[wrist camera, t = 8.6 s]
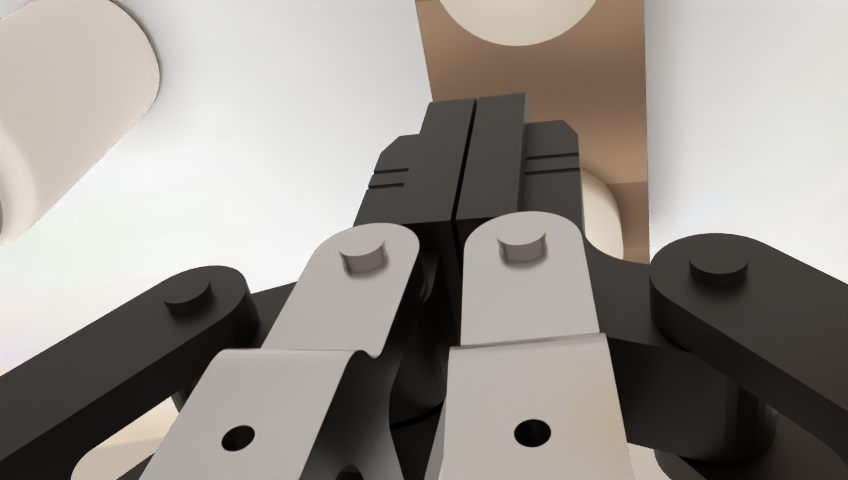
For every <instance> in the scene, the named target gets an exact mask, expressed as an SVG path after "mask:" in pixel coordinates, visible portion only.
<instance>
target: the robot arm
mask: <svg viewBox="0 0 848 480" xmlns="http://www.w3.org/2000/svg"><path fill="white" fill-rule="evenodd" d="M368 188H369V190H366V193H365V196H364V198H363V201H362V204H361V206H360V209H359V211H358V214H357V217H356V219H355V222H354V225H353V227H352V228H349V229H346V230H344V231H341V232H339V233H337V234H335V235H333V236H332V237H330V238H329V239H327V240H326V241H324V242H323V243H322V244H321V245H320V246H319V247H318V248H317V249H316V250H315V251H314V253H313V254H312V256H311V258H310V260H309V261H308V263H307V265H306V267H305V269H304V271H303V272H302V274H301V276H300V278H299V280H298V281H296V282H293V283H290V284H287V285H283V286H279V287H276V288H272V289H268V290H264V291H261V292H257V293H253V294H251V293H250V290H249V288H248V285H247V282H246V280H245V278H244V276H243V275H242V274H241V273H240V272H239V271H238V270H236V269H233V268H230V267H226V266H204V267H198V268H194V269H190V270H187V271H184V272H181V273H179V274H176V275H174V276H172V277H170V278H168V279H166V280H164V281H162V282H161V283H159V284H157V285H156V286H154V287H152V288H150V289H149V290H147V291H145V292H144V293H142V294H140V295H139V296H137V297H135V298H133V299H132V300H130V301H128V302H127V303H125V304H123V305H121V306H120V307H118V308H116V309H115V310H113V311H111V312H110V313H108V314H106V315H104V316H103V317H101V318H99V319H98V320H96V321H94V322H92V323H91V324H89V325H87V326H86V327H84V328H82V329H81V330H79V331H77V332H75V333H74V334H72V335H70V336H69V337H67V338H65V339H63V340H62V341H60V342H58V343H57V344H55V345H53V346H52V347H50V348H48V349H46V350H45V351H43V352H41V353H40V354H38V355H36V356H34V357H33V358H31V359H29V360H28V361H26V362H24V363H22V364H21V365H19V366H17V367H16V368H14V369H12V370H11V371H9V372H7V373H5V374H4V375H2V376H0V480H71V475H72V472H73V470H74V468H75V466H76V464H77V463H78V462H79V460H80V459H81V458H82V457H83V456H84V455H85V454H86V453H87V452H89V451H90V450H92V449H93V448H95V447H96V446H97V445H99V444H100V443H102V442H103V441H105V440H106V439H108V438H109V437H111V436H112V435H114V434H115V433H117V432H118V431H120V430H121V429H123V428H124V427H126V426H127V425H129V424H130V423H132V422H133V421H135V420H136V419H138V418H139V417H140V416H142V415H143V414H145V413H146V412H148V411H149V410H151V409H152V408H154V407H155V406H157V405H158V404H160V403H161V402H163V401H164V400H166V399H167V398H169V397H170V396H171V398H172V400H173V402H174V404H175V406H176V408H177V410H178V412H179V415H178V416H177V418H176V420H175V421H174V423H173V424H172V426H171V428H170V429H169V431H168V433H167V434H166V436H165V437H164V439H163V441H162V443H161V444H160V446H159V447H158V449H157V451H156V452H155V453H154V454H152V455H150V456H149V457H148V458H146V459H145V460H143V461H142V462H141V463H139V464H138V465H136V466H135V467H134V468H132V469H131V470H129V471H128V472H126V473H125V474H124V475H122V476H121V477H119V478H118V479H117V480H438V477H439V474H440V469H441V465H442V461H443V474H442V480H634V476H633V470H632V466H631V460H630V455H629V450H628V445H627V443H632V444H635V445H640V446H644V447H648V448H651V449H654V453H655V458H656V460H657V462H658V465H659V466H660V467H661V469H662V470H663V472H664V473H665V474H666V475H667V476H668V477H669V478H670V479H671V480H848V284H846V283H844V282H842V281H840V280H838V279H836V278H834V277H832V276H830V275H828V274H826V273H824V272H822V271H820V270H818V269H816V268H814V267H811V266H809V265H807V264H805V263H803V262H801V261H799V260H797V259H795V258H793V257H791V256H789V255H787V254H785V253H783V252H781V251H779V250H777V249H775V248H773V247H771V246H769V245H767V244H764V243H762V242H760V241H757V240H755V239H751V238H748V237H745V236H739V235H734V234H724V233H708V234H698V235H693V236H688V237H685V238H681V239H678V240H676V241H674V242H672V243H669V244H668V245H666V246H665V247H663V248H662V249H661V250H660V251H658V252H657V253H656V254H655V256H654V257H653V259H652V261H651V263H650V264H643V263H636V262H631V261H625V260H622V259H618V258H615V257H612V256H610V255H608V254H605V253H604V252H602V251H600V250H598V249H597V248H596V247H595V246H593V245H592V244H591V243H590V242H589V240H588V239H587V238H586V235H585V218H584V205H583V192H582V179H581V166H580V153H579V141H578V134H577V133H576V132H575V131H574V130H573V129H572V128H571V127H570V126H569V125H568V124H567V123H566V122H565V121H564V120H553V121H543V122H533V123H531V117H530V108H529V101H528V95H527V92H519V93H510V94H501V95H491V96H482V97H479V100H477V98H476V97H474V98H465V99H456V100H447V101H437V102H430V103H429V105H428V108H427V111H426V115H425V118H424V121H423V124H422V128H421V131H420V134H415V135H405V136H399V137H398V138H397V139H396V140H395V141H394V142H392V143H391V144H390V145H389V146H388V147H387V148H386V149H385V150H384V151H382V152H381V154H380V156H379V159H378V161H377V164H376V167H375V169H374V175H372V177H371V180H370V183H369V185H368Z"/></svg>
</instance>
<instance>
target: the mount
mask: <svg viewBox="0 0 848 480" xmlns="http://www.w3.org/2000/svg"><path fill="white" fill-rule="evenodd" d="M415 4H416V10H417V15H418V21H419V26H420V32H421V37H422V43H423V48H424V54H425V59H426V65H427V71H428V76H429V82H430V87H431V93H432V98H433V102H437V101H447V100H456V99H465V98H474V97H476V98H477V100H479V97H482V96H491V95H501V94H510V93H519V92H527V95H528V101H529V108H530V117H531V123H533V122H543V121H553V120H564V121H565V122H566V123H567V124H568V125H569V126H570V127H571V128H572V129H573V130H574V131H575V132H576V133H577V134H578V141H579V153H580V166H581V168H583V169H585V170H587V171H589V172H591V173H592V174H594V175H595V176H597V177H598V178H599V179H600V180H601V181H603V182H604V183H605V185H606V186H607V187H608V188H609V189H610V191H611V192H612V194H613V195H614V197H615V200H616V202H617V205H618V208H619V214H620V223H621V231H622V240H623V260H625V261H631V262H636V263H643V264H650V254H649V210H648V167H647V123H646V80H645V36H644V0H596V1H595V3H594V4H593V6H592V7H591V8H590V10H589V11H588V12H587V14H586V15H585V16H584V17H583V18H582V19H581V20H580V21H579V22H578V23H576V24H575V25H574V26H573V27H571V28H570V29H569V30H567V31H565V32H564V33H562V34H561V35H559V36H557V37H554V38H552V39H550V40H547V41H544V42H541V43H538V44H532V45H526V46H508V45H501V44H496V43H492V42H489V41H486V40H483V39H481V38H479V37H477V36H475V35H473V34H472V33H470V32H469V31H467V30H466V29H464V28H463V27H462V26H461V25H459V24H458V23H457V22H456V21H455V20H454V19H453V18H452V17H451V16H450V14H449V13H448V12H447V11H446V9H445V8H444V6H443V5H442V3H441V1H440V0H415Z"/></svg>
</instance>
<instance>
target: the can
mask: <svg viewBox="0 0 848 480" xmlns="http://www.w3.org/2000/svg"><path fill="white" fill-rule="evenodd" d="M159 80H160V74H159V67H158V63H157V60H156V57H155V54H154V51H153V49H152V47H151V45H150V43H149V41H148V39H147V37H146V36H145V34H144V32H143V31H142V30H141V28H140V27H139V26H138V24H137V23H136V22H135V21H134V20H133V19H132V18H131V17H130V16H129V15H128V14H127V13H126V12H125V11H123V10H122V9H121V8H120V7H118V6H117V5H115V4H114V3H112V2H111V1H109V0H33V1H32V2H30V3H28V4H26V5H24V6H22V7H21V8H19V9H17V10H15V11H14V12H12V13H10V14H8V15H6V16H5V17H3V18H1V19H0V245H1V244H5V243H7V242H10V241H12V240H14V239H16V238H18V237H19V236H21V235H22V234H23V233H25V232H26V231H27V230H28V229H29V228H30V227H32V226H33V225H34V224H35V223H36V222H37V221H38V220H39V219H40V218H41V217H42V216H43V215H44V214H45V213H46V212H47V211H48V210H49V209H50V208H51V207H53V206H54V205H55V204H56V203H57V202H58V201H59V200H60V199H61V198H62V197H63V196H64V195H65V194H66V193H67V192H68V191H69V190H70V189H71V188H72V187H73V186H74V185H75V184H76V183H77V182H78V181H79V180H80V179H81V178H82V177H83V176H84V175H85V174H86V173H87V172H88V171H89V170H90V169H91V168H92V167H93V166H94V165H95V164H96V163H97V162H98V161H99V160H100V159H101V158H102V157H103V156H104V155H105V154H106V153H107V152H108V151H109V150H110V149H111V148H112V147H113V146H114V145H115V144H116V143H117V142H118V141H119V140H120V139H121V138H122V137H123V136H124V135H125V134H126V133H127V132H128V131H129V130H130V129H131V128H132V127H133V126H134V125H135V124H136V123H137V122H138V121H139V120H140V119H141V117H142V116H143V115H144V114H145V113H146V112H147V111H148V110H149V108H150V107H151V105H152V104H153V102H154V100H155V98H156V95H157V92H158V87H159Z"/></svg>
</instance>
